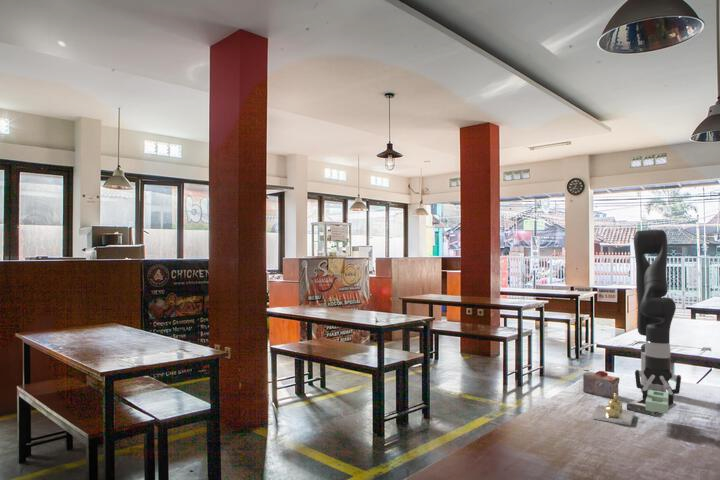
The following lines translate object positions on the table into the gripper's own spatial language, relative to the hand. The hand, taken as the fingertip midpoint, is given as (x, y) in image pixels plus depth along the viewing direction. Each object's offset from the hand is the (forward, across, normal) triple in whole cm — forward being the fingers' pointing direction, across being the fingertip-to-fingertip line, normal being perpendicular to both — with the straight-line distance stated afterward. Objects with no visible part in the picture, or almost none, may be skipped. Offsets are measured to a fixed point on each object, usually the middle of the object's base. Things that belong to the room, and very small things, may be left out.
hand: (657, 402), depth 171 cm
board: (+1, 0, 0) cm, 1 cm away
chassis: (+8, +14, 0) cm, 15 cm away
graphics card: (+9, +3, -22) cm, 24 cm away
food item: (+8, +22, -29) cm, 37 cm away
